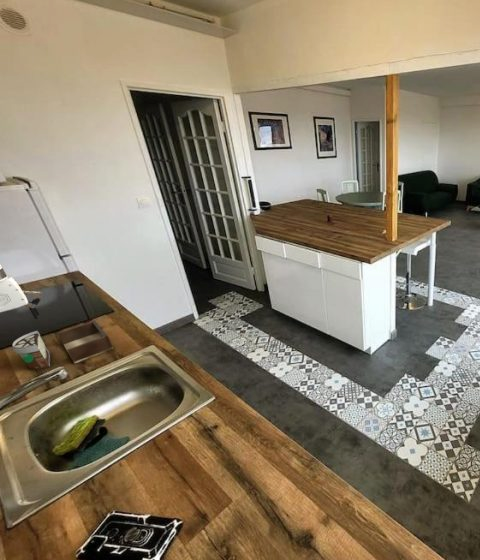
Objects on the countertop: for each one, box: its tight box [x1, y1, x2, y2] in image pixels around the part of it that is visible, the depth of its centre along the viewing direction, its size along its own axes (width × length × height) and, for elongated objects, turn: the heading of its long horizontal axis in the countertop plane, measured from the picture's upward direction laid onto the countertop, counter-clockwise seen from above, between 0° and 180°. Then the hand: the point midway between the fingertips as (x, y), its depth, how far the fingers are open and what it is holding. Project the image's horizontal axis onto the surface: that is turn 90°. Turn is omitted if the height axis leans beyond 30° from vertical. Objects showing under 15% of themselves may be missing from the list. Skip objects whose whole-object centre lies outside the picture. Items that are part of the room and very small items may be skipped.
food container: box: [11, 330, 51, 371], centre depth 107 cm, size 12×6×10 cm, turn 45°
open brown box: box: [57, 320, 114, 364], centre depth 117 cm, size 11×17×6 cm, turn 53°
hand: (15, 323), depth 102 cm, fingers open, 9 cm apart
